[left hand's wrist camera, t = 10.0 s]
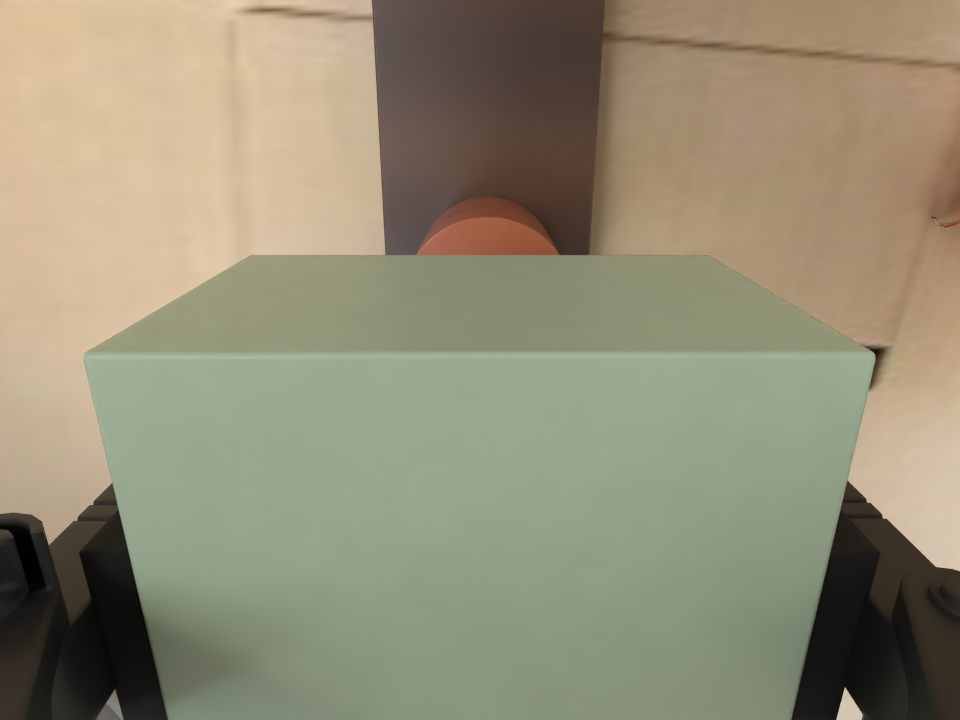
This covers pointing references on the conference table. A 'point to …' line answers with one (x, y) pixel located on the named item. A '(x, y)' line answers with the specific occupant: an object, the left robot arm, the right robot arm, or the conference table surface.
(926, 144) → the conference table surface
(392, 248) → the stand
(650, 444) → the pale green block
